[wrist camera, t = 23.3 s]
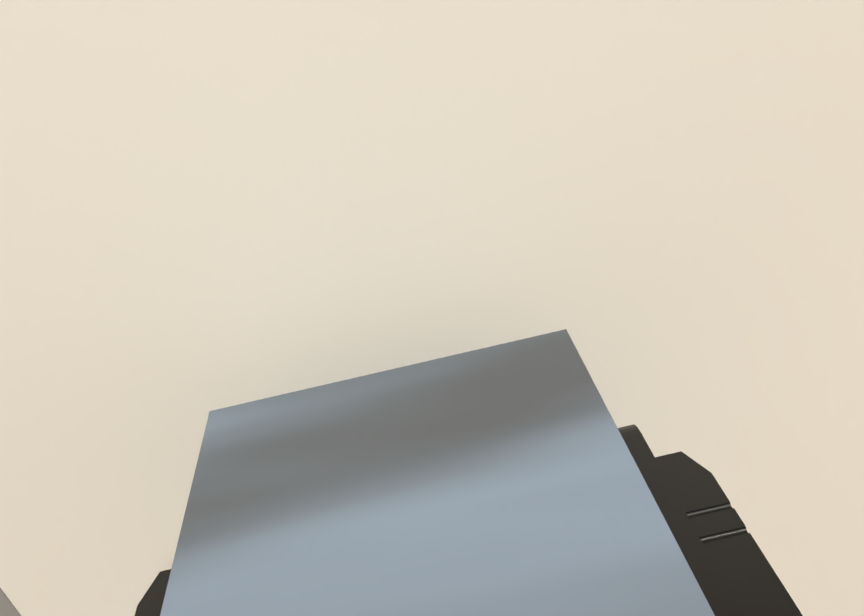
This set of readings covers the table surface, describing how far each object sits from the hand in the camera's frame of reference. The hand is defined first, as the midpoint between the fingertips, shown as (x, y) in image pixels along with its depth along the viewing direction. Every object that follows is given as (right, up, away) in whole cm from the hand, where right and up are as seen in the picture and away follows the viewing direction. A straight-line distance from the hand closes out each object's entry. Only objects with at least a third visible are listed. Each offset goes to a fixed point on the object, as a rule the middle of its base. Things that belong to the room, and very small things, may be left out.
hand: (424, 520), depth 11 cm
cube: (0, 0, 0) cm, 1 cm away
